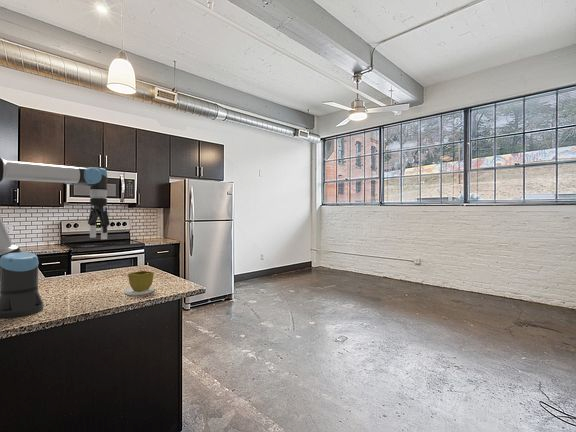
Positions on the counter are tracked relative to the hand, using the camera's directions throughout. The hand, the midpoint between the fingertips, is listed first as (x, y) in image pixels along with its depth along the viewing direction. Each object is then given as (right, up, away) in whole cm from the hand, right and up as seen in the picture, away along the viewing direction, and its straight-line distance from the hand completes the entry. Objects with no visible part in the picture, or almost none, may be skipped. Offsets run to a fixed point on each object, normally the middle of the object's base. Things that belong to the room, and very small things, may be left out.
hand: (98, 238), depth 161 cm
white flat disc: (+23, -27, -3) cm, 36 cm away
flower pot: (+25, -26, -5) cm, 36 cm away
